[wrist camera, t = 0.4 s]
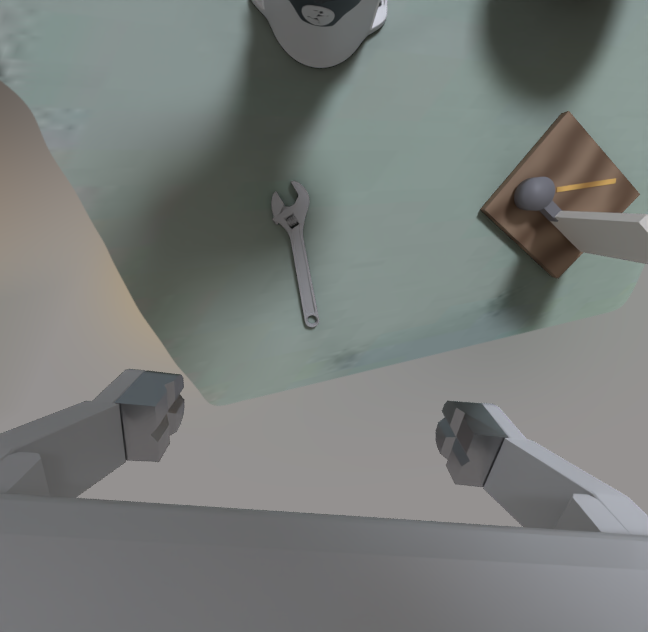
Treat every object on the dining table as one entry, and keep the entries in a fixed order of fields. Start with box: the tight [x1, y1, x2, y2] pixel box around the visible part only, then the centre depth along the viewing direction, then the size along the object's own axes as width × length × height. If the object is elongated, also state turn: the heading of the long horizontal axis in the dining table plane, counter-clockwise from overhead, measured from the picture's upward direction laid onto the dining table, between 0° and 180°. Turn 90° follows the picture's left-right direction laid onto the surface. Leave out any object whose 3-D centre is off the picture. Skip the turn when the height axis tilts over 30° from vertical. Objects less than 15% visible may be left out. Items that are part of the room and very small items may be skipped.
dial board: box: [480, 111, 640, 278], centre depth 54 cm, size 20×18×2 cm
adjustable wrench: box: [271, 181, 319, 327], centre depth 55 cm, size 25×6×2 cm, turn 5°
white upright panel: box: [514, 177, 648, 264], centre depth 46 cm, size 18×5×16 cm, turn 53°
